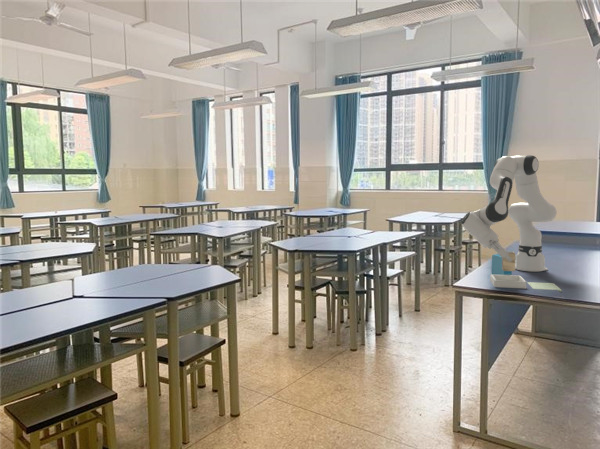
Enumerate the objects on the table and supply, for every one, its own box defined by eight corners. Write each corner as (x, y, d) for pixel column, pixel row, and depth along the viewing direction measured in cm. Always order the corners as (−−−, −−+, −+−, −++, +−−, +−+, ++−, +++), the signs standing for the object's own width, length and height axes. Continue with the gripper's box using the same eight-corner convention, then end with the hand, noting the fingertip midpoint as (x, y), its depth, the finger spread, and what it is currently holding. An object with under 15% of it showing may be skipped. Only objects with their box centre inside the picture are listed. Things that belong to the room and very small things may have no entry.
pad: (526, 283, 218) (526, 282, 218) (553, 284, 215) (553, 283, 215) (533, 290, 205) (533, 288, 205) (561, 291, 201) (561, 290, 201)
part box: (502, 268, 217) (502, 251, 216) (512, 269, 215) (513, 251, 214) (503, 270, 212) (504, 252, 211) (514, 271, 211) (515, 253, 210)
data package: (511, 280, 227) (512, 257, 226) (503, 280, 226) (504, 257, 225) (499, 275, 239) (499, 253, 237) (491, 275, 238) (491, 254, 237)
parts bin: (490, 282, 223) (490, 274, 223) (520, 283, 219) (520, 275, 219) (494, 288, 210) (494, 280, 209) (526, 290, 206) (526, 281, 205)
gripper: (497, 238, 204) (519, 259, 202) (491, 232, 223) (511, 251, 222) (486, 247, 206) (508, 268, 204) (481, 240, 225) (501, 260, 223)
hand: (510, 259), depth 213 cm, fingers closed on part box, 5 cm apart
